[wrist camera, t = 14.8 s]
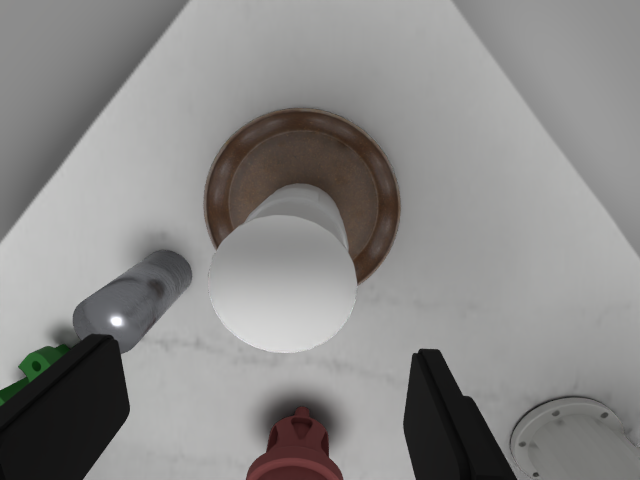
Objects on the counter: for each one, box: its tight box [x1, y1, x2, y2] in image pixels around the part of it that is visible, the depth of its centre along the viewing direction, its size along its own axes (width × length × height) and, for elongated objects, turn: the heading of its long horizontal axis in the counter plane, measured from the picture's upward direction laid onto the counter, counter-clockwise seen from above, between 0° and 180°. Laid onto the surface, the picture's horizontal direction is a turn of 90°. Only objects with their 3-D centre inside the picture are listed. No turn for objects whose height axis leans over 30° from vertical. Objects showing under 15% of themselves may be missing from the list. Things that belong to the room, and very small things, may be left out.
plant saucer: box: [203, 108, 401, 286], centre depth 31 cm, size 18×18×3 cm
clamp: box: [0, 344, 70, 406], centre depth 36 cm, size 12×6×9 cm, turn 129°
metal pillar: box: [73, 250, 192, 354], centre depth 29 cm, size 5×5×10 cm
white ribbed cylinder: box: [208, 183, 357, 353], centre depth 22 cm, size 7×7×15 cm
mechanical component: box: [246, 407, 343, 480], centre depth 34 cm, size 12×10×10 cm
